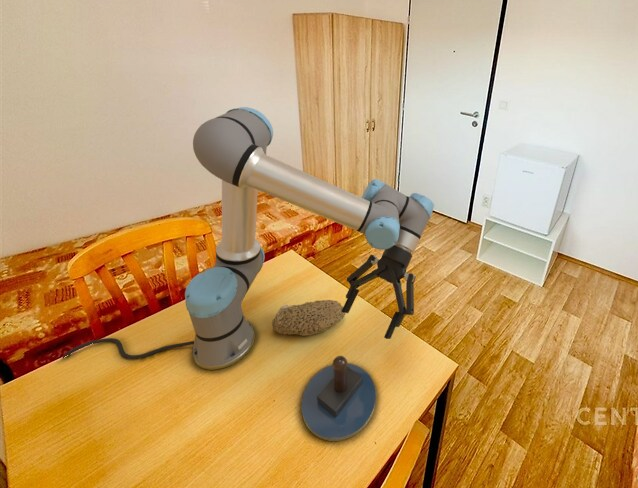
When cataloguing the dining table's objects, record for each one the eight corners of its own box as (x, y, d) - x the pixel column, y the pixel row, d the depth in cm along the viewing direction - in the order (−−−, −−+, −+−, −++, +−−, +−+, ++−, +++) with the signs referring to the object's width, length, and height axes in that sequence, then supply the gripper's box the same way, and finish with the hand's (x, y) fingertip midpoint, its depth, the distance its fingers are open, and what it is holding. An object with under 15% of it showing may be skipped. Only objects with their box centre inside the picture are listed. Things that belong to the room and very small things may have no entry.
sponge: (272, 343, 93) (338, 340, 90) (266, 320, 91) (333, 317, 88) (291, 314, 105) (349, 312, 103) (286, 294, 104) (345, 290, 101)
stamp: (335, 417, 74) (334, 383, 68) (317, 402, 77) (314, 368, 71) (362, 383, 82) (363, 349, 76) (344, 370, 84) (344, 337, 79)
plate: (291, 439, 71) (291, 436, 70) (313, 363, 87) (312, 360, 86) (372, 443, 71) (372, 440, 70) (378, 367, 87) (378, 365, 86)
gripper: (445, 269, 83) (411, 349, 78) (369, 235, 94) (335, 303, 89) (439, 263, 77) (401, 350, 71) (358, 228, 88) (321, 301, 83)
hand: (365, 324), depth 80 cm, fingers open, 13 cm apart
